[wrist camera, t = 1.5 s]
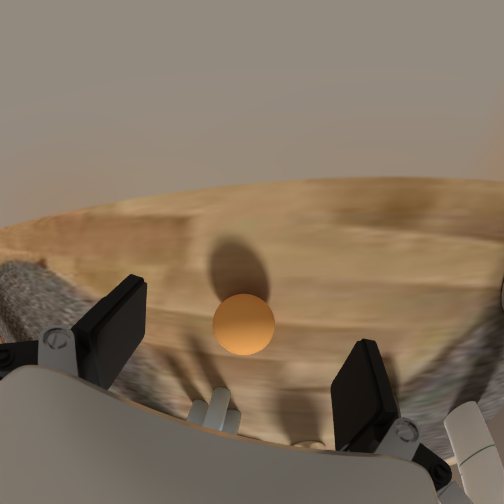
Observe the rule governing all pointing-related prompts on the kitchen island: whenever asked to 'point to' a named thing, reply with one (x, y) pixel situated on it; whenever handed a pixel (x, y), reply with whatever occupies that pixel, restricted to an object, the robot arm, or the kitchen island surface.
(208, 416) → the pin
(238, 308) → the ball
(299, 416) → the kitchen island surface
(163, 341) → the kitchen island surface
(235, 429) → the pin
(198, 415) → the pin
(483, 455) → the cylindrical container
